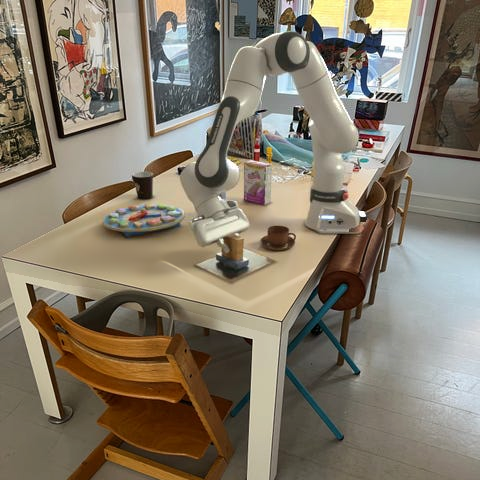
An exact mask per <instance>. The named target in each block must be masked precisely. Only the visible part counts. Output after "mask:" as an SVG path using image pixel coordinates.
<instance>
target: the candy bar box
mask: <svg viewBox="0 0 480 480" xmlns="http://www.w3.org/2000/svg"><path fill="white" fill-rule="evenodd" d="M272 169H273V164H272V163H266V162H262V161H257V160H254V159H253V160H252V159H249V160H246V161H243V201H245V202H250V203H254V204H258V205H261V206H267V205H268V204H270V203H271V202H272V201H271V199H272V177H273V176H272V174H273V170H272Z"/></svg>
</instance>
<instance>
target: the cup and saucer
mask: <svg viewBox="0 0 480 480" xmlns="http://www.w3.org/2000/svg"><path fill="white" fill-rule="evenodd" d="M266 231H267V233H266V235H264V236H263V237H261V238H260V244H261V245H262V247H264V248H266V249H267V250H271V251H285V250H289V249H291V248H292V247H294V246H295V244H296V239H297V235H296V234H295V233H294V232H290V229H289V227H287V226H285V225H271V226H269V227H267V230H266ZM291 235H292V236H293V237H292V236H291ZM268 245H269V246H268ZM286 245H287V246H286Z"/></svg>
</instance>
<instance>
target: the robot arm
mask: <svg viewBox="0 0 480 480" xmlns="http://www.w3.org/2000/svg"><path fill="white" fill-rule="evenodd" d="M287 73H288V74H289V75H290V77H291V79H292V81H293V84H294V87H295V89H296V92H297V95H298V96H299V98H300V102H301V104H302V106H303V108H304V111H305V112H306V113H307V115H308V116H309V117H310V119H311V120H310V122H309V126H308V130H309V135H310V138H311V149H312V160H313V170H312V171H313V172H312V185H311V186H310V190H309V191H310V192H309V208H308V211H307V216H306V219H305V221H304V225H305V226H306V227H307V228H309V229H311V230H314V231H316V232H317V233H319V234H327V235H328V234H331V235H332V234H333V235H334V234H337V235H338V234H340V235H341V234H343V235H360V234H359V233H358V232H349V229H351V228H355V227H357V226H358V225H359V223H360V222H366V220H367V221H368V217H367V215H366V213H365V211H361V210H359V208H358V207H357V206H356V205H355V204H354V203H352V202H351V201H350V200H349V195H350V194H349V193H348V189H347V188H344V180H345V170H346V166H345V165H346V164H345V163H344V158H343V154H345V155H346V154H348V153H351V152H352V151H353V150H354V149H355V148H356V147H357V145H358V143H359V138H360V134H359V131H358V128H357V127H356V126H355V124H354V123H353V121H352V119H351V118H350V116H349V114H348V111H347V110H346V108H345V106H344V105H343V103H342V101H341V99H340V97H339V95H338V94H337V91H336V89H335V86H334V84H333V81H332V79H331V76H330V72H329V70H328V68H327V65H326V63H325V61H324V59H323V57H322V55H321V53H320V52H319V50H318V48H317V46H316V45H315V44H314V43H313V42H312V41H309V40H306V38H305V37H304V35H302V34H301V33H300V32H298V31H295V30H294V31H293V30H286V31H284V32H276V33H273V34H270V35H269V36H267V37H265V38H260V39H259V40H257V41H256V42H255V43H254V44H252V45H251V46H249V45H246V46H243V47H241V48H240V49H239V50H238V51H237V53H236V55H235V57H234V59H233V62H232V64H231V67H230V70H229V72H228V76H227V79H226V83H225V88H224V91H223V95H222V99H221V101H220V103H219V106H218V109H217V111H216V113H215V117H214V119H213V122H212V126H211V129H210V131H209V135H208V138H207V141H206V144H205V146H204V148H203V149H202V151H201V153H200V154H199V156H198V157H197V158H196V161H195V162H191V163H188V164H187V165H185V167H184V168H183V169H182V171H181V172H180V175H179V181H180V184H181V187H182V189H183V191H184V193H185V195H186V197H187V198H188V199H187V200H189V201H190V202H191V203H192V205H193V207H194V211H195V213H196V215H197V217H194V218H191V219H190V221H189V223H188V224H189V225H188V226H189V229H190V230H191V231H192V233H193V236H194V238H195V240H196V243H197V245H198V246H199V247H200V248H206V247H209V246H212V245H214V244H216V245H217V247H219V248H221V250H222V249H224V251H225V253H229V252H230V251H232V249H231V248H230V245H229V246H227V245H226V244H225V243H224V240H223V238H224V237H226V236H227V235H230V234H235V235H237V236H240V235H241V234H243V233H245V232H246V231H248V229H250V221H249V219H248V218H247V216H246V215H245V213H244V211H243V210H242V209H241V208H239V203H238V201H236V200H231V199H226V200H223V199H221V198H220V197H219V194H221V193H224V192H226V193H227V192H228V191H230V190H232V189H234V188H235V187H236V186H237V184H238V183H239V181H240V169H239V167H238V166H237V164H236V163H234V162H233V161H232V160H230V159H228V150H229V149H230V148H229V147H230V144H231V142H232V138H233V136H234V131H235V129H236V127H237V125H238V124H239V122H241V121H243V120H246V119H249V118H251V117H252V116H254V115H255V113H256V111H257V109H258V107H259V104H260V102H261V98H262V95H263V91H264V87H265V81H266V80H267V78H268V77H278V76H282V75H285V74H287ZM366 223H367V222H366Z"/></svg>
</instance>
